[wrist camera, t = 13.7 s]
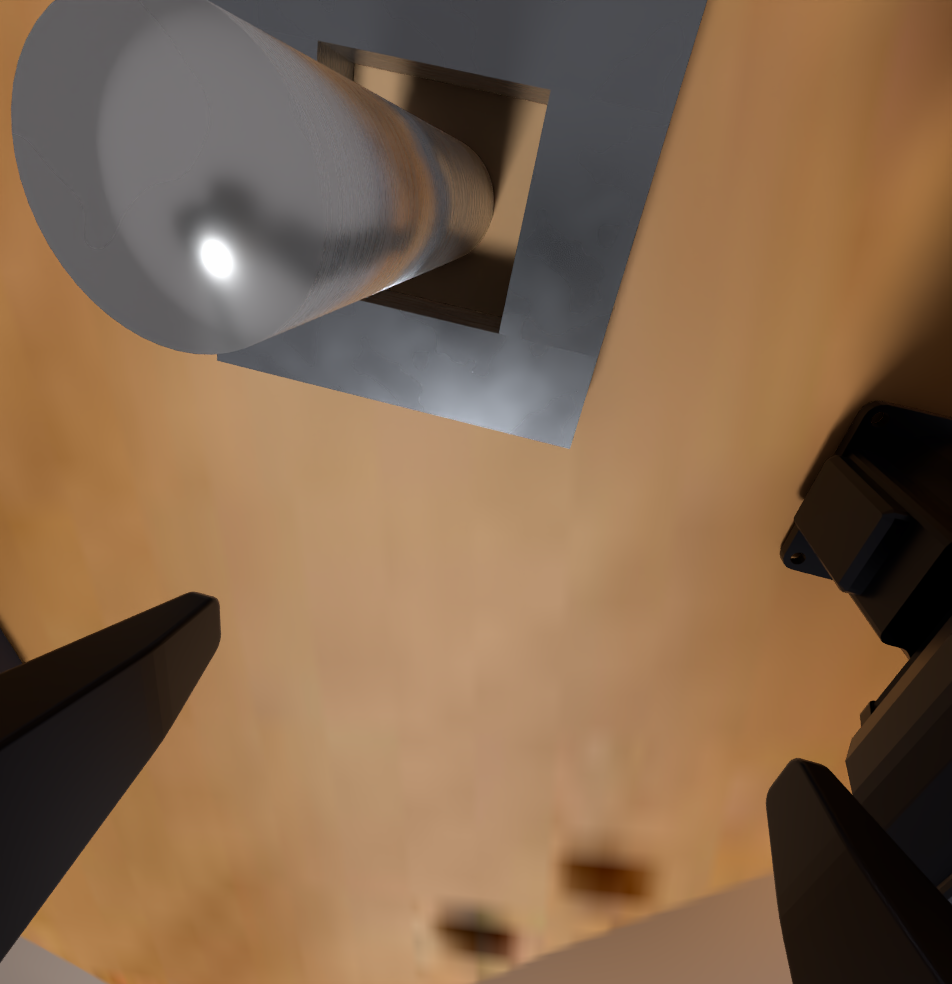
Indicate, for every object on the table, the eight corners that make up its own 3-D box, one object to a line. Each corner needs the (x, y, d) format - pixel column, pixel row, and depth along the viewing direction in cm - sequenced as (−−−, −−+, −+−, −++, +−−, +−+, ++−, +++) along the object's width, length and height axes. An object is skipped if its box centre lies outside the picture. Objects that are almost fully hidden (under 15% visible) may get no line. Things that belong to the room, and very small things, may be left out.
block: (700, -10, 14) (722, -50, 12) (571, 422, 20) (569, 448, 18) (256, -98, 15) (200, -151, 13) (256, 344, 20) (217, 360, 18)
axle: (504, 149, 16) (332, 14, 5) (481, 272, 18) (313, 384, 7) (391, 124, 17) (-25, -62, 5) (379, 248, 18) (43, 317, 7)
